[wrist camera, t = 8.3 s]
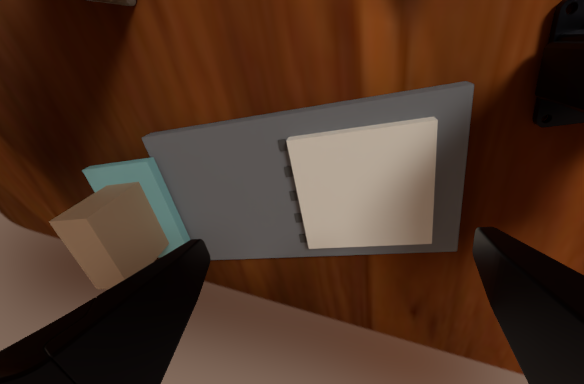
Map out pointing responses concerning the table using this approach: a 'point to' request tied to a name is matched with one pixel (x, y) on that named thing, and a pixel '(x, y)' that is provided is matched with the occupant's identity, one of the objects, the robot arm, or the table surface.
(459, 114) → the board
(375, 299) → the table surface
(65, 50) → the table surface
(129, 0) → the coffee box
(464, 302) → the table surface
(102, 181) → the stub
